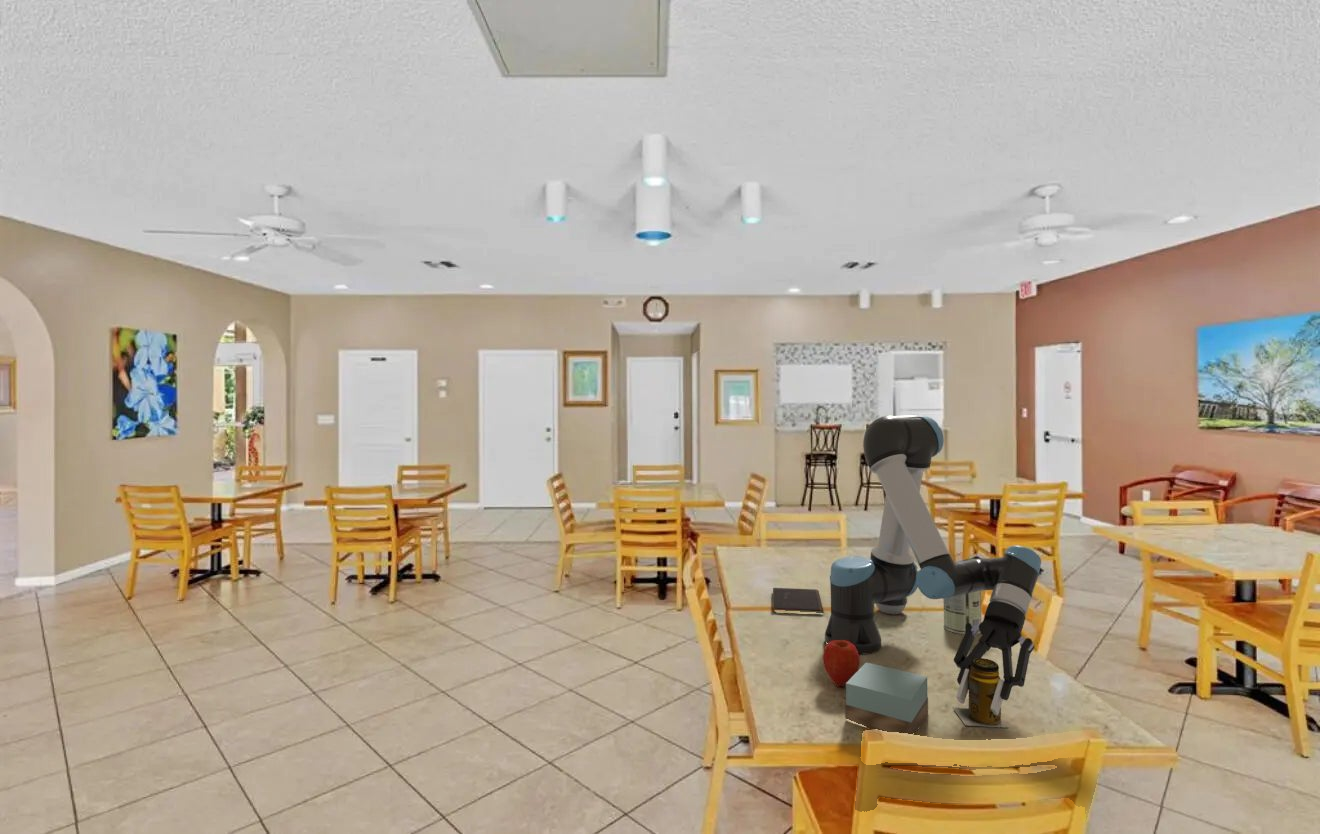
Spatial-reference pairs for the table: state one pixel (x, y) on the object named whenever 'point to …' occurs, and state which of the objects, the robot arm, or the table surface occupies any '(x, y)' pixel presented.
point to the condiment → (981, 695)
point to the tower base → (886, 719)
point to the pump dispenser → (892, 606)
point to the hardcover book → (797, 600)
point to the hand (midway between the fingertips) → (976, 705)
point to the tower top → (887, 691)
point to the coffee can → (962, 611)
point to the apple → (841, 661)
